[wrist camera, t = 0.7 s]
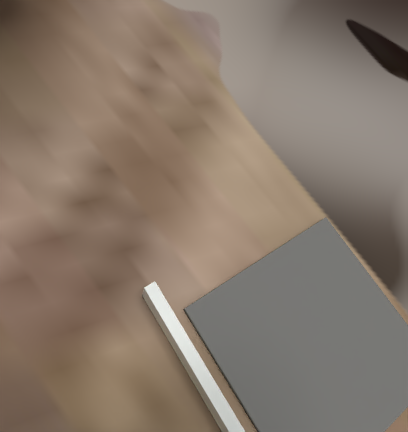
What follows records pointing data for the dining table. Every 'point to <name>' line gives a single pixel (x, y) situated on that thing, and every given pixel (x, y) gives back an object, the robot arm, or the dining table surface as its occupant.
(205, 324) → the mat
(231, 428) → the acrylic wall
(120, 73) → the dining table surface
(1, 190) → the dining table surface
